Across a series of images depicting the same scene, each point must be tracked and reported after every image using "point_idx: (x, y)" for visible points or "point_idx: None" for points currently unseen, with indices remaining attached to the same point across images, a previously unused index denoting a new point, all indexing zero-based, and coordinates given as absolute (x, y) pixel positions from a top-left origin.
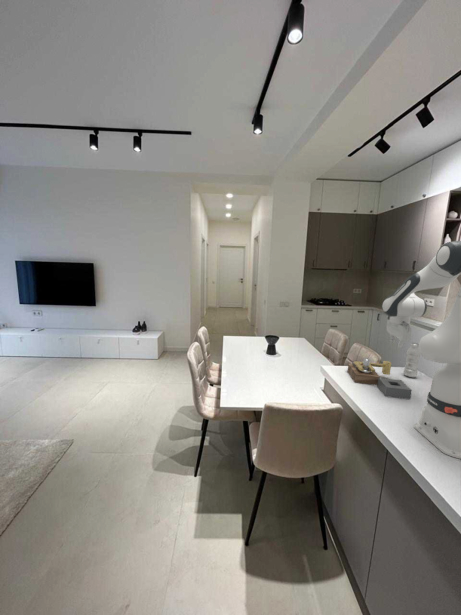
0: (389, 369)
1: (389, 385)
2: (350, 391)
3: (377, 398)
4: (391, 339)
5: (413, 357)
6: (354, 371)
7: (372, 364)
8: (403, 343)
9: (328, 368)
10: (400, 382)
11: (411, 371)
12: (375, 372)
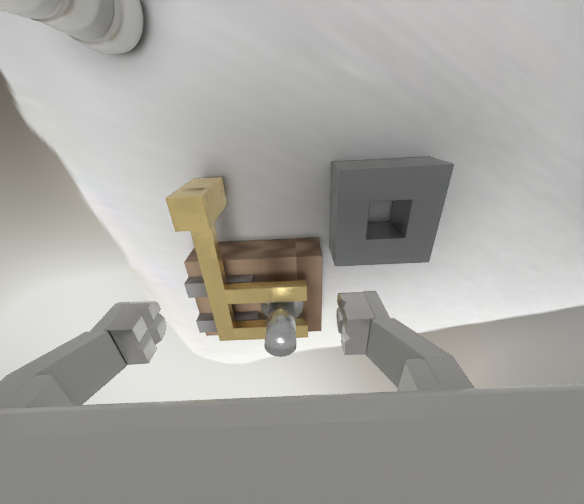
0: (214, 189)
1: (410, 246)
2: None
3: (427, 271)
4: (136, 362)
5: None
6: None
7: (222, 277)
8: (419, 338)
9: (220, 357)
10: (369, 185)
11: (123, 7)
12: (271, 260)
